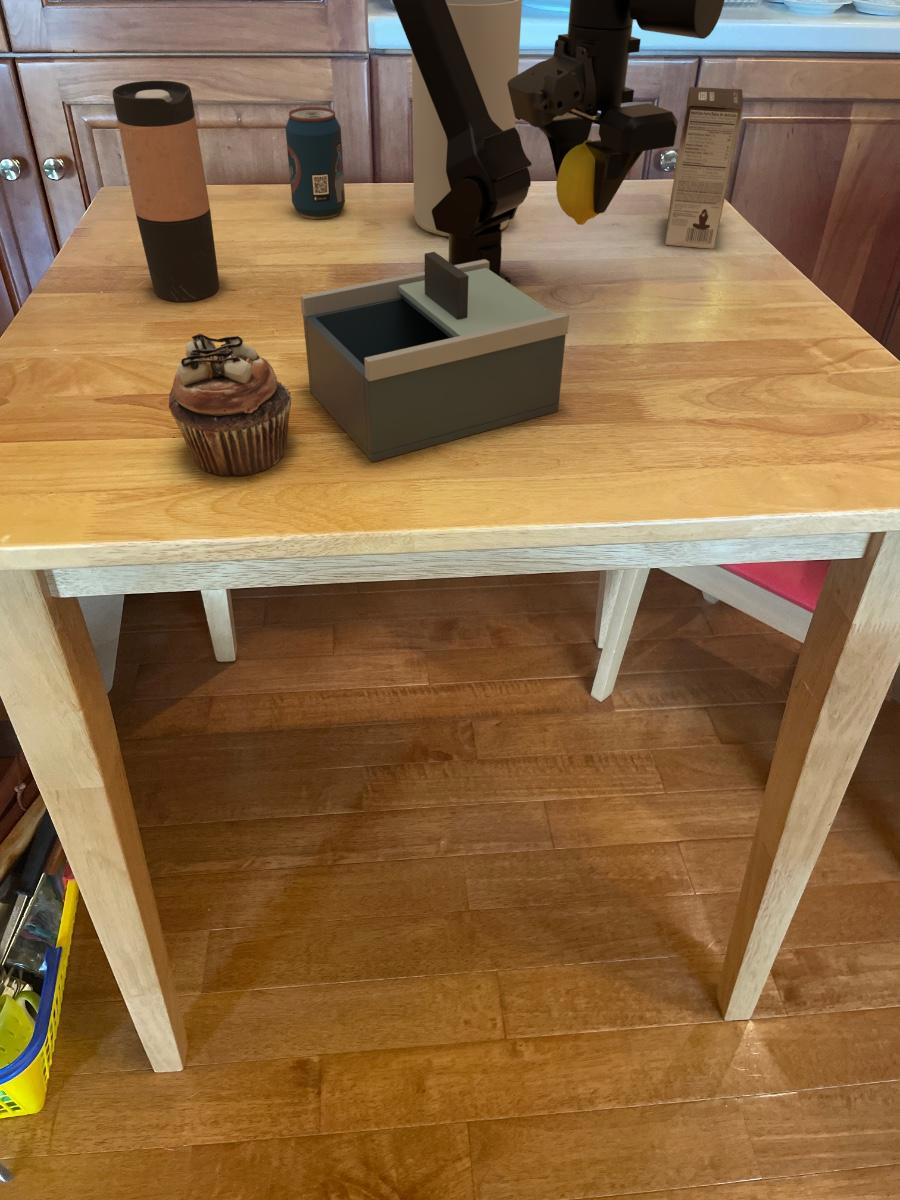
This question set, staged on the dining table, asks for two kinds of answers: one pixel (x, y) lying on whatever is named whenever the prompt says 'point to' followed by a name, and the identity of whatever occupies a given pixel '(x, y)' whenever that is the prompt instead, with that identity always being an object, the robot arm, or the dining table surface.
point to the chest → (424, 368)
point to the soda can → (315, 162)
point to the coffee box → (703, 166)
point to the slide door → (469, 298)
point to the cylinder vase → (491, 43)
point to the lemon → (577, 184)
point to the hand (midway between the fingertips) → (581, 204)
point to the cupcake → (230, 407)
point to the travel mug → (168, 187)
